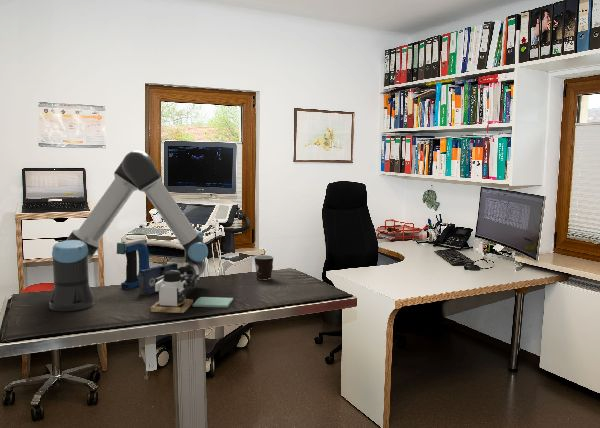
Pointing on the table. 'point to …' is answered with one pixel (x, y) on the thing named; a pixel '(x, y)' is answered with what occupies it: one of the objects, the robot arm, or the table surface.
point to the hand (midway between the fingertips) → (167, 288)
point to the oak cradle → (182, 309)
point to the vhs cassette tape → (153, 277)
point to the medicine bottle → (171, 290)
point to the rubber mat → (213, 302)
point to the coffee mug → (263, 266)
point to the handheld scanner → (134, 260)
